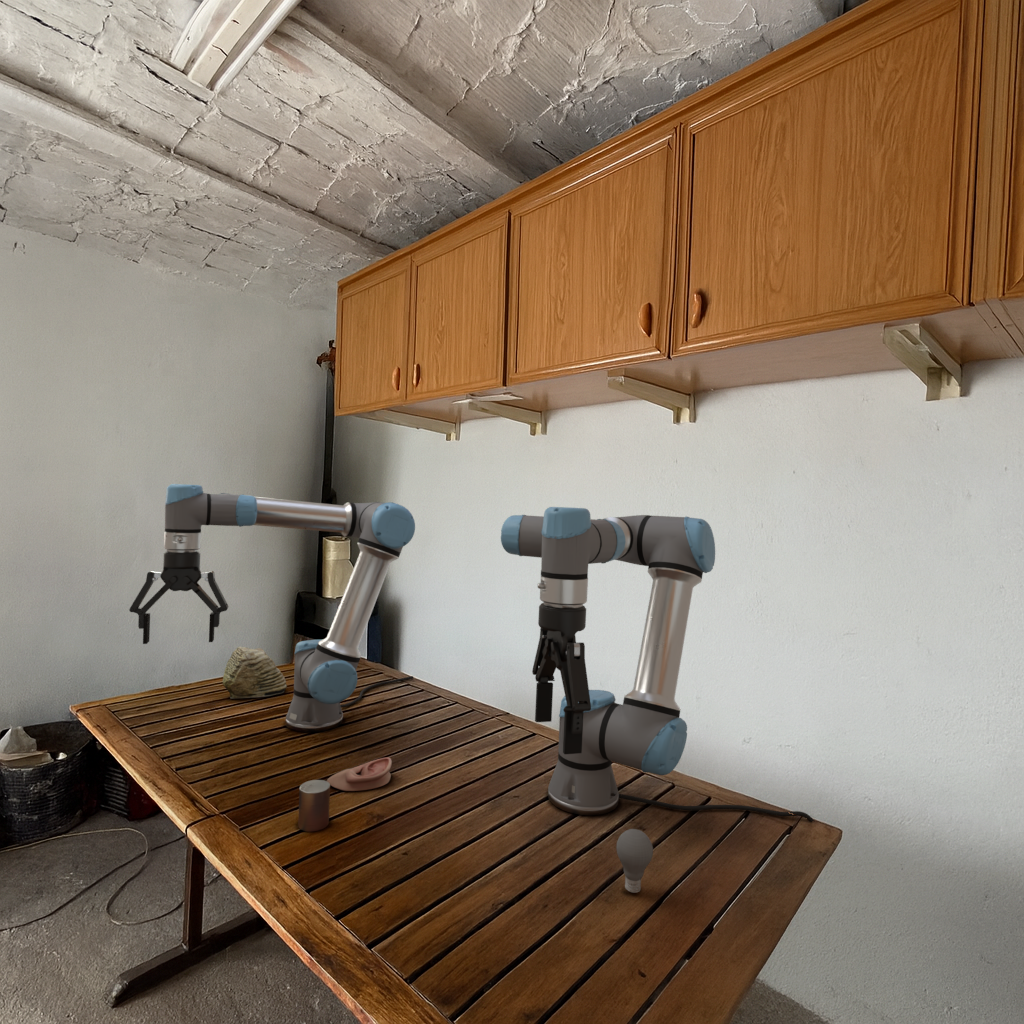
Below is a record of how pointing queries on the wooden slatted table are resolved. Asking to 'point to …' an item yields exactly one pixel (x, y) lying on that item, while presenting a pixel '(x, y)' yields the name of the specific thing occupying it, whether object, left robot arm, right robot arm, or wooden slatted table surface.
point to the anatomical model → (363, 776)
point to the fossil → (252, 674)
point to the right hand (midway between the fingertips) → (556, 736)
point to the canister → (314, 805)
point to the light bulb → (634, 857)
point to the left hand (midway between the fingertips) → (179, 641)
